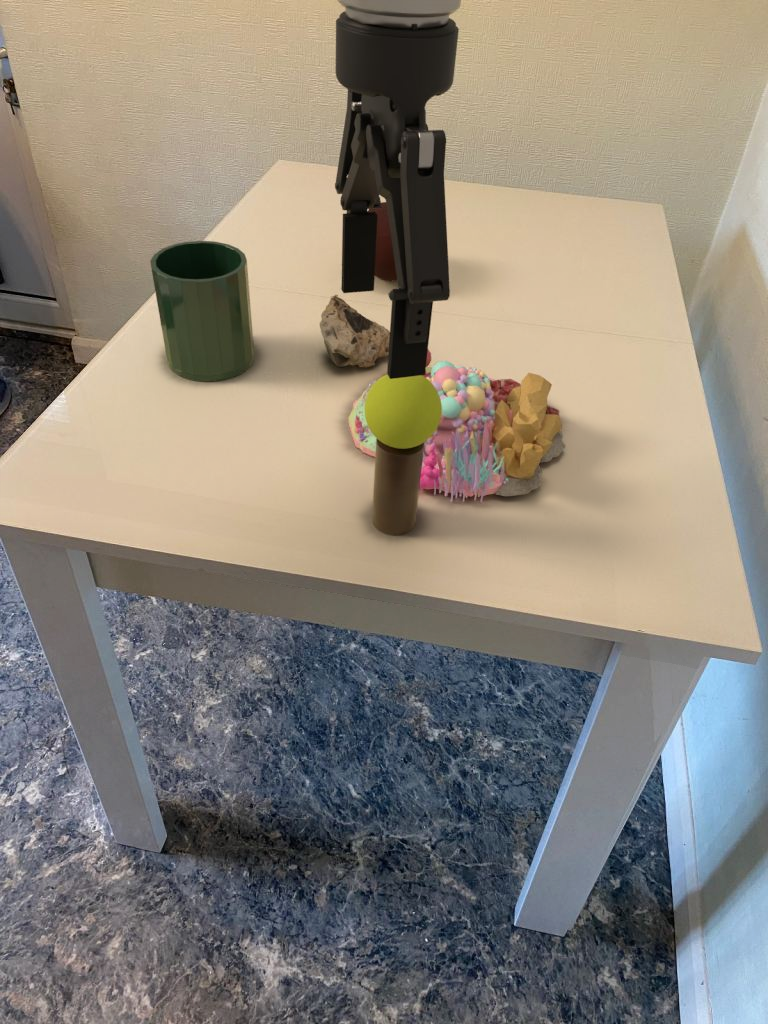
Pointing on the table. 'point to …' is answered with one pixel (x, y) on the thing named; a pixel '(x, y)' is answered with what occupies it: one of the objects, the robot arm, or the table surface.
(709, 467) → the table surface
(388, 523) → the post
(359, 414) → the candy landscape model
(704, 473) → the table surface
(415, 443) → the ball
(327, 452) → the table surface
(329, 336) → the rock
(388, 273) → the dark brown round lump
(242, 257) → the tube
